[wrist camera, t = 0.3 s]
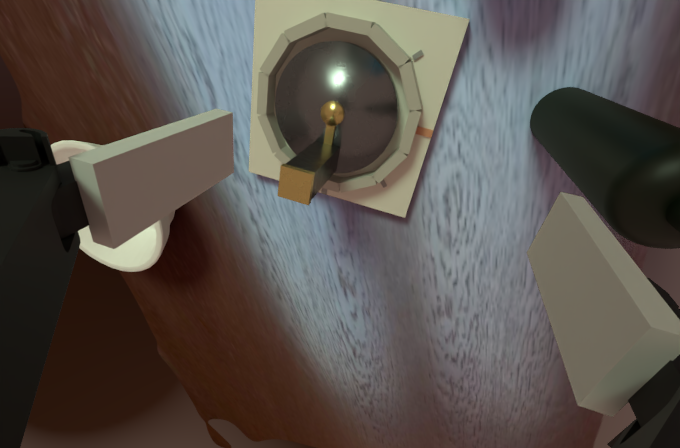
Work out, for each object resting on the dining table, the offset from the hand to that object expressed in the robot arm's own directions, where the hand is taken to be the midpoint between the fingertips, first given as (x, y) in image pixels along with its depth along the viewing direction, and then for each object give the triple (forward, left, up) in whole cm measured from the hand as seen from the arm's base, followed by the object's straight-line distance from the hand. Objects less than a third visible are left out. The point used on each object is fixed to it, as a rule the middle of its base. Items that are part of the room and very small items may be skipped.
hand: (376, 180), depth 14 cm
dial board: (+4, -9, -28) cm, 29 cm away
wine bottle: (-1, +14, -28) cm, 31 cm away
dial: (+4, -9, -26) cm, 27 cm away
